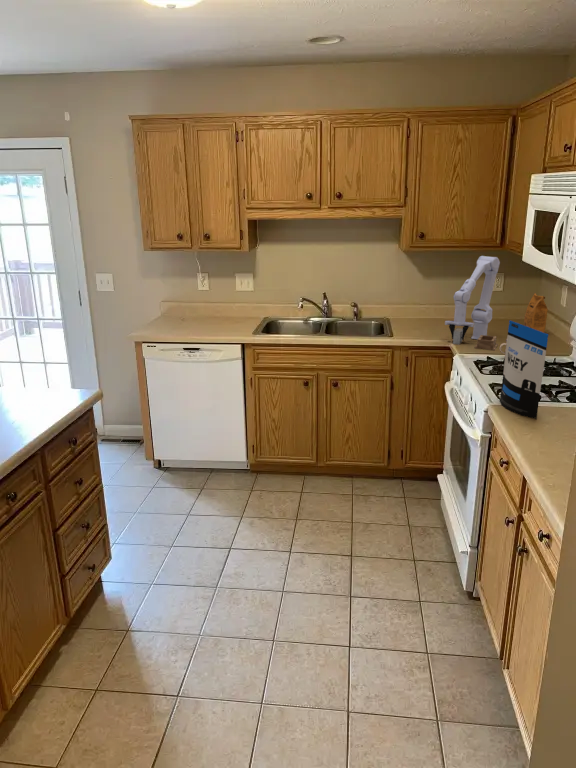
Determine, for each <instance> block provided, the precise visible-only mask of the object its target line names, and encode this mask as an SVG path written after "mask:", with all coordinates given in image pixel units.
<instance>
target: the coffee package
mask: <svg viewBox="0 0 576 768" xmlns="http://www.w3.org/2000/svg"><path fill="white" fill-rule="evenodd" d="M545 299H546V296H544V295H537V293H534V294H533V295H532V297H531V298H530V301H529V303H528V305H527V307H526V311H525V314H524V320H523V325H524V326H527V327H529V328H532V329H535V330H538V331H540V332H543V333H545V332H546V325H547V320H548V319H547V317H548V311H549V309H548V307H547V303H546V302H545Z"/></svg>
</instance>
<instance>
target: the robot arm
mask: <svg viewBox="0 0 576 768" xmlns="http://www.w3.org/2000/svg"><path fill="white" fill-rule="evenodd" d="M500 264H501V261H500V259H499V258H498V256H488V255H487V256H485V255H481V256H479V257H478V259H477V260H476V267H475V268H474V270H473V272H472V274H471V276H470V277H469V278H467V279H466V280H465V281H464V283H463V284H462V285H461V287H460V289H459V290H458V291H455V293H454V294H453V301H454V302H453V303H454V317H453V320H445V321H444V326H447V325H448V328H449V330H450V331H449V332H450V334H451V340H453V336H454V330H455V329H456V327H457V326H459V327H462V329H463V334H462V341H464V339H465V336H466V333H467V332H468V329H469V328H470V327H471V328H472V329H473V330H472V331H473V332H472V335H471V338H470V339H472V340H478V338H479V337H480V336H481V335H487V336H488V329H489V327H488V326H489V323H490V322H491V320H492V319H493V308H492V307H491V306H490V303H491V298H492V295H493V291H494V287H495V286H494V285H495V283H496V282H495V281H496V277H497V274H498V271H499V268H500ZM483 273H484V274H485V278H484V280H483V286H482V290H481V294H480V299H479V301H478V302H479V303H478V304H476V305H475V306H474V307H473V310H472V312H471V319H472V322H470V321H469V322H468V321H466V318H467V306H468V303H469V301H470V299H471V295H472V292H473V290H474V289H475V287H476V286H477V284H476V282H477V281H478V280H479V278H480V277H481V276H482V274H483Z"/></svg>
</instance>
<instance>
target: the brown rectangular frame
mask: <svg viewBox="0 0 576 768" xmlns="http://www.w3.org/2000/svg"><path fill="white" fill-rule="evenodd" d="M498 345H499V343H497V336H496V335H488V334H487V335H481V336H480V337H479V338H478V339H476V344H475V346H474V349H478V350H488V351H495V350H496V349H497V348H498Z"/></svg>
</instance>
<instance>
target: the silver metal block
mask: <svg viewBox="0 0 576 768" xmlns="http://www.w3.org/2000/svg"><path fill="white" fill-rule="evenodd" d="M462 334H463V328H458V327H457V328H456V327H455V330H454V336H453V339H452V345H461V344H462V342H463V340H462Z"/></svg>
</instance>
